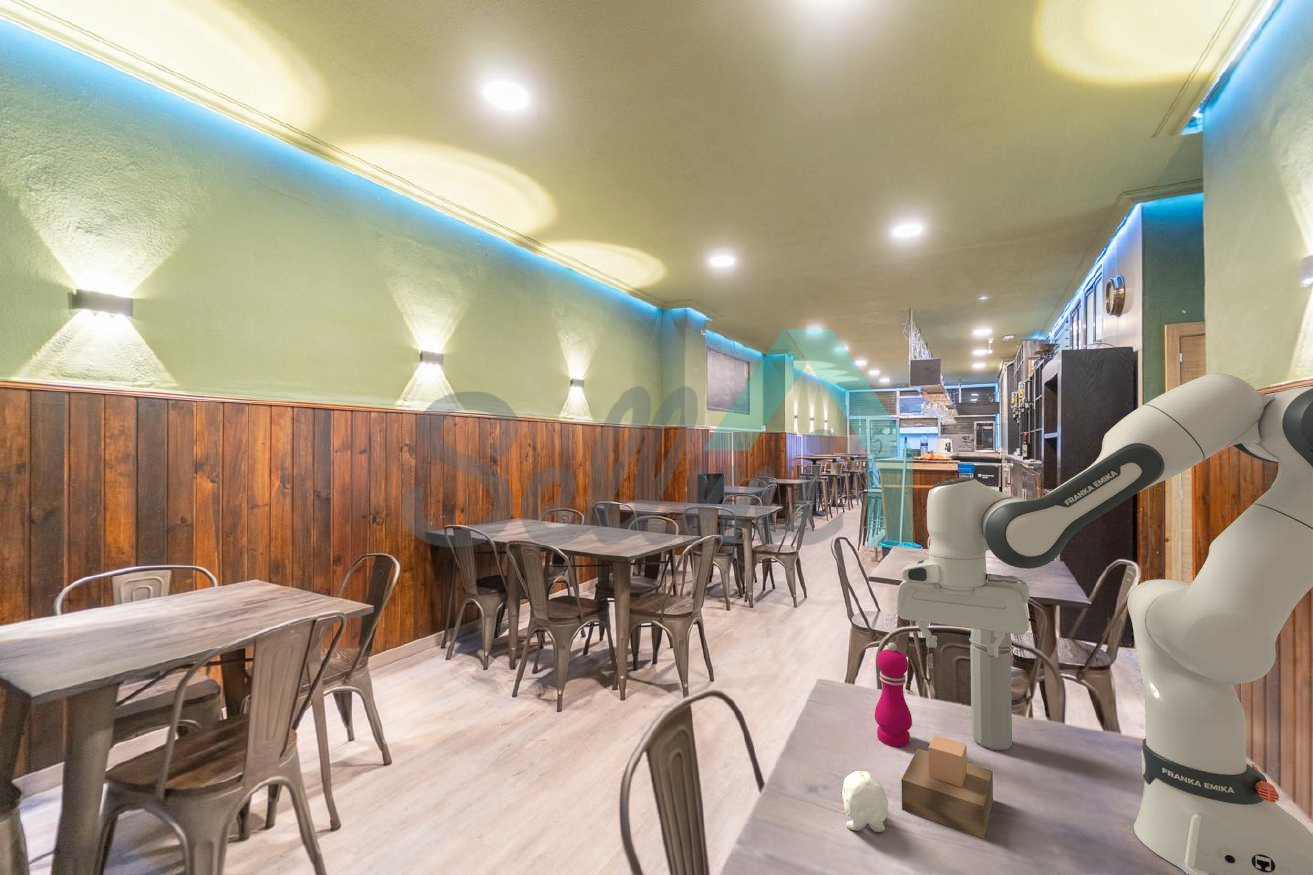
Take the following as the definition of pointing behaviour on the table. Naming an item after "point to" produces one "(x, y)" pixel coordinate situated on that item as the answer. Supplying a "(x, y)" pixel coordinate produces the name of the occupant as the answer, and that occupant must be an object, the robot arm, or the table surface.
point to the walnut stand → (948, 796)
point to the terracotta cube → (947, 760)
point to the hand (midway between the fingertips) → (961, 651)
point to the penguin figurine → (864, 801)
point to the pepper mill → (893, 699)
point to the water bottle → (991, 691)
